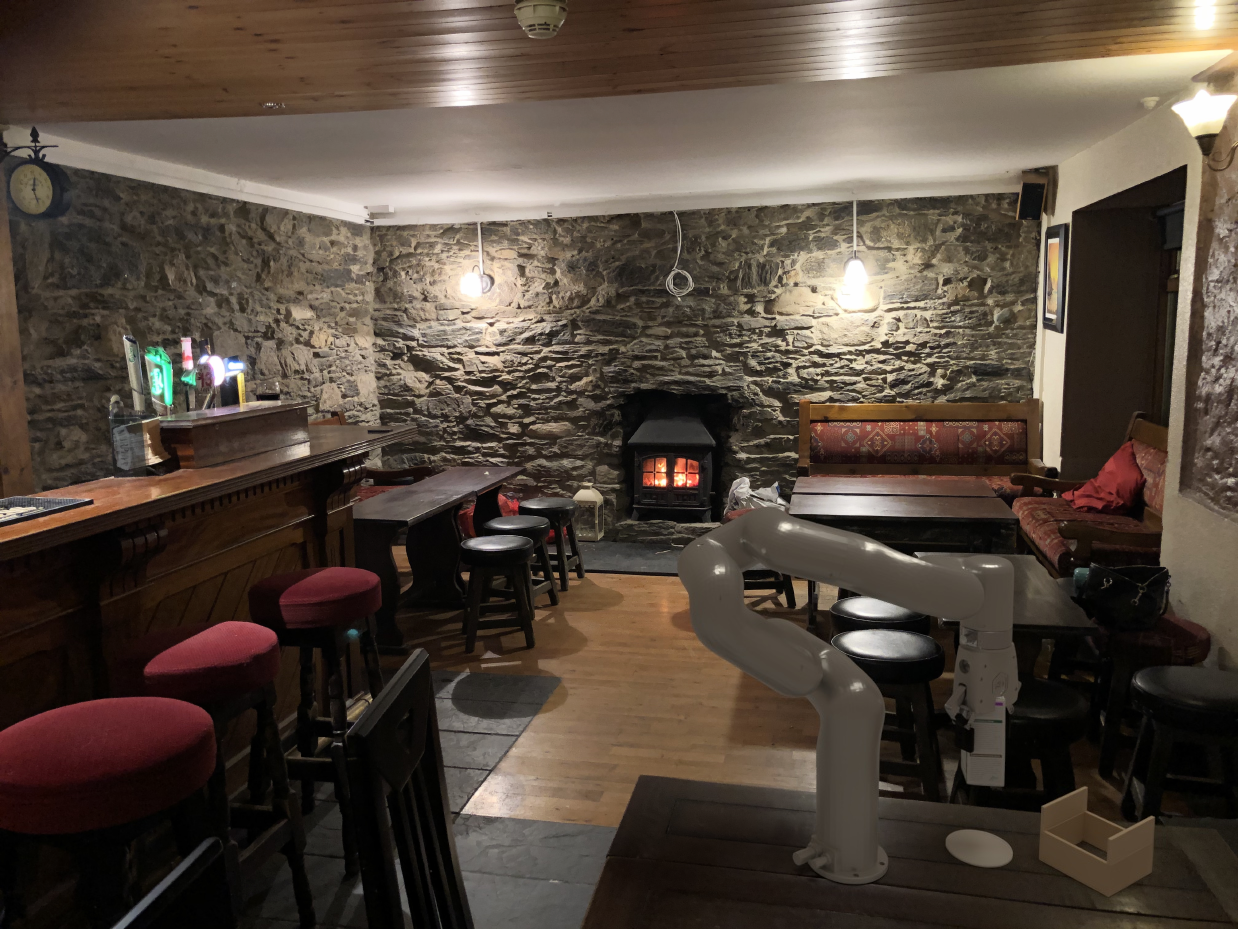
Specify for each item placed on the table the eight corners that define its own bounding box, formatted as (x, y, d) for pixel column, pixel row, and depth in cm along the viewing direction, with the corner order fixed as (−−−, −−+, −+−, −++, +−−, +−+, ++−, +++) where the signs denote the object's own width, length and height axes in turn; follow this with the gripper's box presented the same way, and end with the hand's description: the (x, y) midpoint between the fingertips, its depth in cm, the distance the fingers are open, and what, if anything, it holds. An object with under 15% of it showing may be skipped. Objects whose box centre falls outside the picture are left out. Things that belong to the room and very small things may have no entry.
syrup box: (1005, 787, 137) (1008, 698, 135) (965, 784, 138) (967, 696, 136) (997, 769, 143) (1000, 684, 141) (958, 767, 144) (960, 682, 142)
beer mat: (984, 875, 136) (985, 872, 136) (932, 844, 144) (932, 841, 144) (1026, 854, 141) (1026, 852, 141) (973, 825, 149) (973, 823, 149)
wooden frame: (1108, 897, 130) (1111, 840, 128) (1038, 859, 139) (1041, 806, 138) (1151, 872, 135) (1155, 817, 134) (1082, 837, 145) (1084, 786, 143)
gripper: (968, 654, 130) (965, 766, 132) (1042, 631, 138) (1038, 737, 141) (927, 640, 136) (925, 747, 139) (1001, 619, 145) (997, 720, 147)
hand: (982, 741), depth 140 cm, fingers closed on syrup box, 8 cm apart
